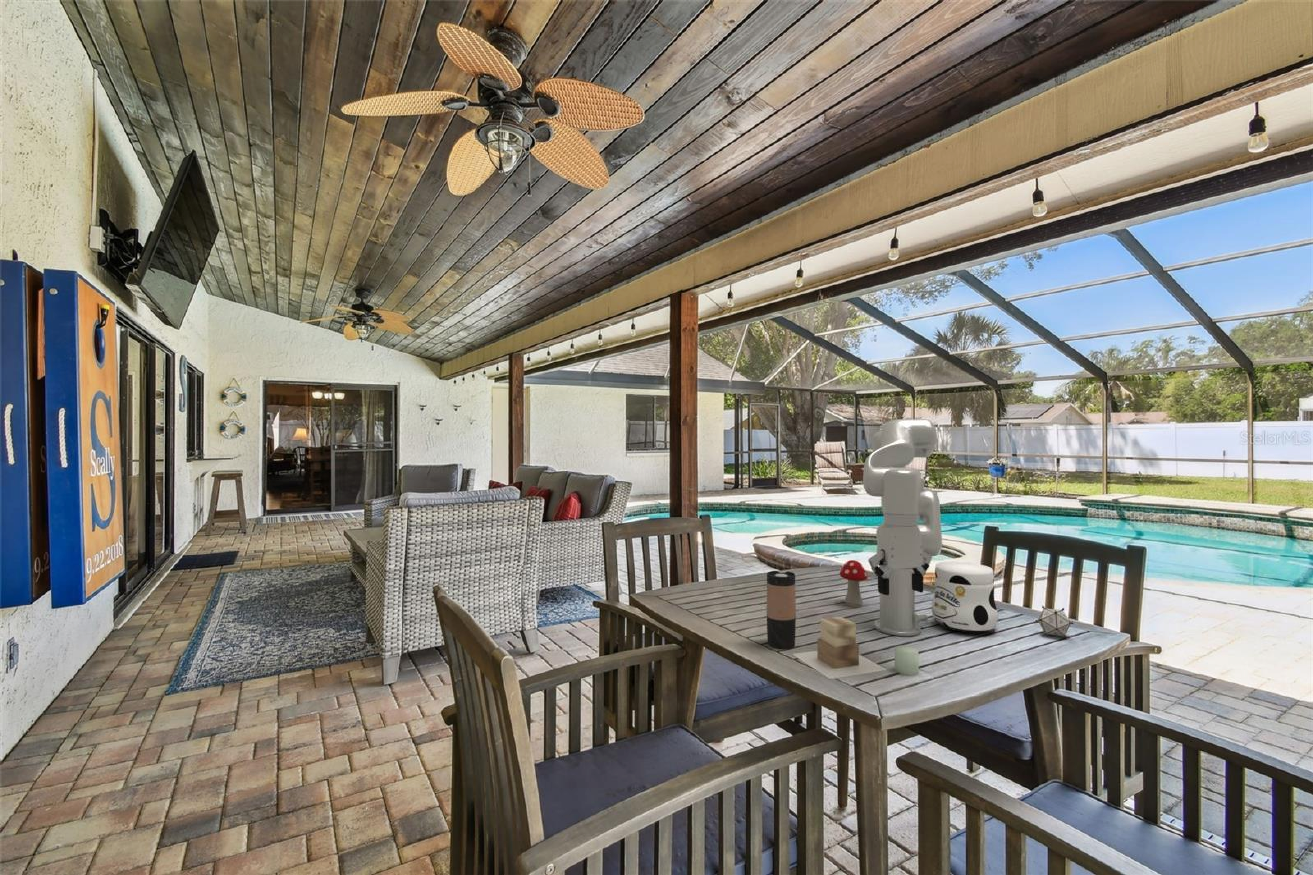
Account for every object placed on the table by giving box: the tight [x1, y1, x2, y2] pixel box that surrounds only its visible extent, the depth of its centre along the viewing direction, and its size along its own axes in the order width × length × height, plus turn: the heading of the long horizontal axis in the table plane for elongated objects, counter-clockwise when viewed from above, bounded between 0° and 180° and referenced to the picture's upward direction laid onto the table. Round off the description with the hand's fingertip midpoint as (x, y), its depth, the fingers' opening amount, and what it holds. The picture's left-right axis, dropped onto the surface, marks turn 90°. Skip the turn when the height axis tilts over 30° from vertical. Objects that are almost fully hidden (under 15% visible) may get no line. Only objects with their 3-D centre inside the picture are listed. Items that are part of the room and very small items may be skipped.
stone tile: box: [792, 650, 888, 680], centre depth 142 cm, size 16×16×1 cm
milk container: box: [931, 561, 999, 634], centre depth 170 cm, size 17×17×18 cm
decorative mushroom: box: [839, 559, 869, 608], centre depth 194 cm, size 10×9×15 cm
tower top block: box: [819, 616, 857, 647], centre depth 142 cm, size 6×6×5 cm
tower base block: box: [816, 637, 860, 669], centre depth 142 cm, size 7×7×5 cm
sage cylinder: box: [894, 645, 920, 676], centre depth 136 cm, size 5×5×6 cm
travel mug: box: [766, 570, 797, 651], centre depth 154 cm, size 8×8×20 cm
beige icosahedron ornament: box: [1035, 605, 1075, 640], centre depth 163 cm, size 9×8×10 cm
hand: (900, 592), depth 138 cm, fingers open, 9 cm apart
